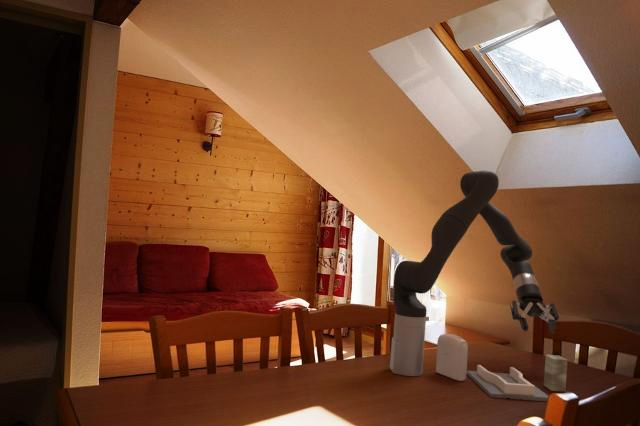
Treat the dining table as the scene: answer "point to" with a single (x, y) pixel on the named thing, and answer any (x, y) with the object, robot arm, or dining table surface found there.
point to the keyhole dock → (506, 385)
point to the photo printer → (452, 356)
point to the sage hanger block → (555, 373)
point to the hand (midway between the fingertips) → (540, 331)
